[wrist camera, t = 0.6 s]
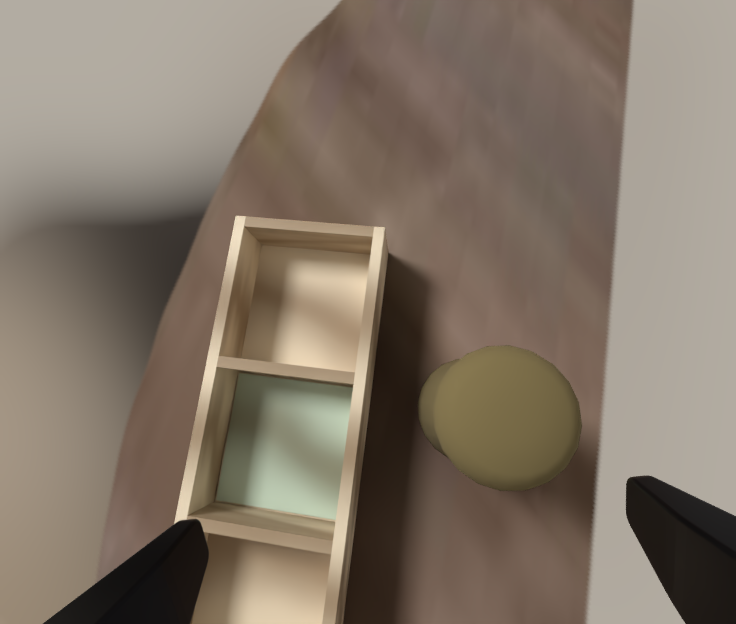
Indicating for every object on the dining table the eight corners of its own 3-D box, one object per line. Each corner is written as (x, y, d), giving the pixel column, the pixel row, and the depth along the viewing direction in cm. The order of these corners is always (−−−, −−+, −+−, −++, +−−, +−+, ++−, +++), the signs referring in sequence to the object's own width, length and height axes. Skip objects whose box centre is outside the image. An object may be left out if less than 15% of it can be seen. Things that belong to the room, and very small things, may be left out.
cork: (399, 388, 25) (390, 381, 14) (485, 340, 25) (541, 296, 15) (451, 483, 24) (485, 551, 13) (543, 431, 24) (651, 456, 13)
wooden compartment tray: (334, 694, 22) (318, 757, 18) (182, 660, 23) (136, 713, 19) (388, 252, 27) (384, 227, 23) (260, 241, 28) (236, 215, 24)
